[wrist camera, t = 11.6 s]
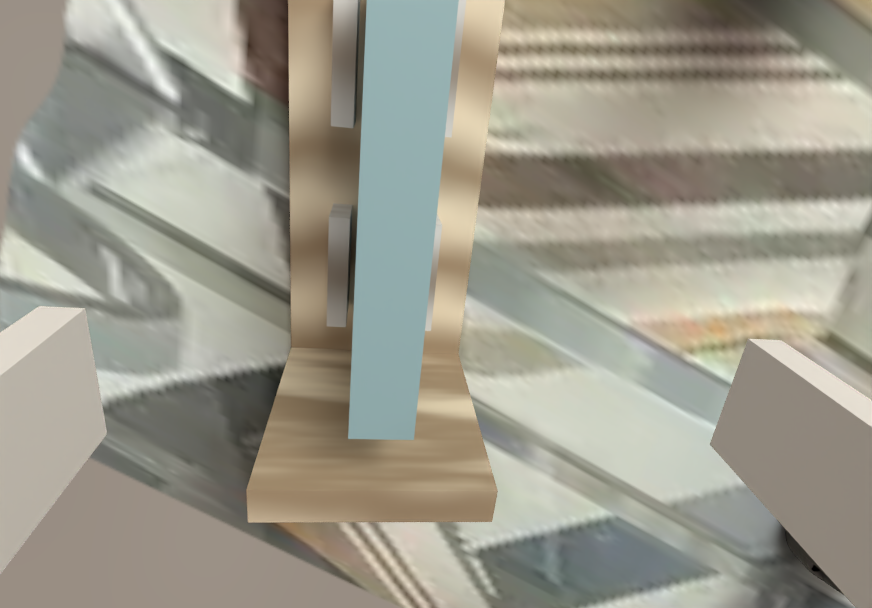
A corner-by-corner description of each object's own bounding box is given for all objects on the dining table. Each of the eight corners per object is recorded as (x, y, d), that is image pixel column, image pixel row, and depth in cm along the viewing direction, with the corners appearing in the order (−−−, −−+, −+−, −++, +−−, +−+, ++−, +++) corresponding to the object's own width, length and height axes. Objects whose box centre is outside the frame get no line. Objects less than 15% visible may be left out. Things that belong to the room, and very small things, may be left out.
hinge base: (451, 364, 42) (491, 521, 27) (295, 358, 40) (248, 522, 25) (510, -99, 30) (638, -263, 15) (292, -133, 28) (202, -353, 14)
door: (401, 313, 37) (413, 440, 24) (358, 311, 37) (348, 438, 24) (428, -13, 29) (466, -79, 17) (373, -20, 29) (370, -93, 16)
